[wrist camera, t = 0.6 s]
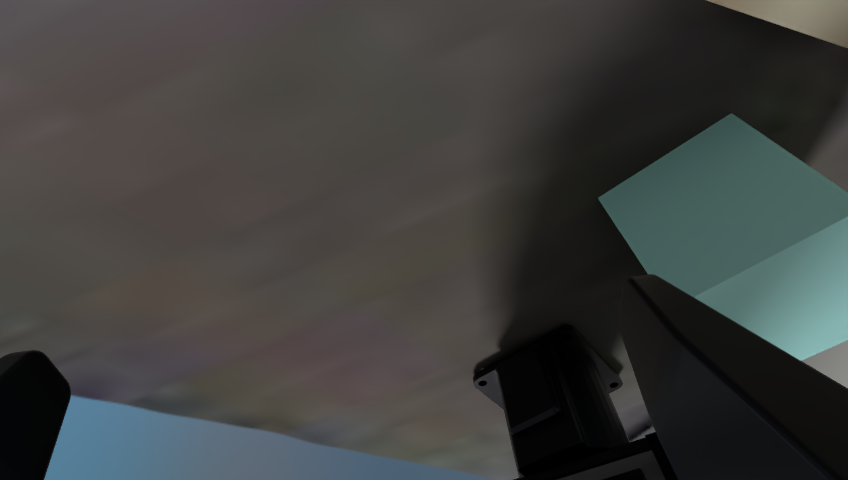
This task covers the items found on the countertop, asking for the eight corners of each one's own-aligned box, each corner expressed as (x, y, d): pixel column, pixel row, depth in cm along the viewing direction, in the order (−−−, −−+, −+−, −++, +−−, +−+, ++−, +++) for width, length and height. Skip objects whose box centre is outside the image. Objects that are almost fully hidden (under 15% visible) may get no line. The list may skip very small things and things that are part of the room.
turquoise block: (773, 207, 23) (901, 316, 17) (652, 274, 25) (730, 391, 19) (730, 112, 20) (867, 206, 14) (597, 197, 22) (671, 309, 16)
